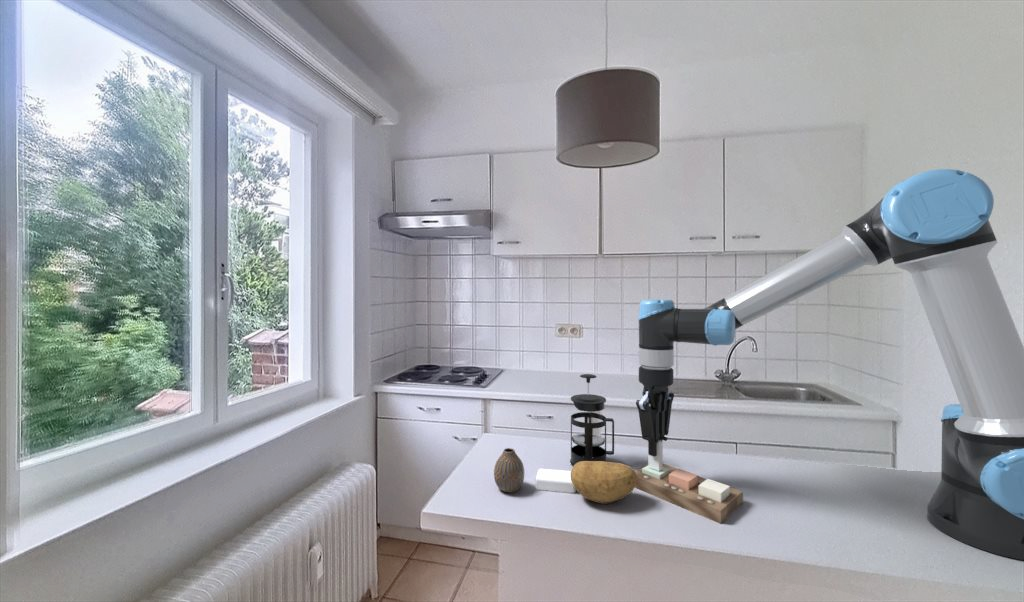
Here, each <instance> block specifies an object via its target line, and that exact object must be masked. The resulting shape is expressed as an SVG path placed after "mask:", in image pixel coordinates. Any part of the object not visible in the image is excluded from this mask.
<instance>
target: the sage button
mask: <svg viewBox="0 0 1024 602" xmlns="http://www.w3.org/2000/svg"><path fill="white" fill-rule="evenodd" d="M645 466H646V465H645ZM643 467H644V466H643ZM641 468H642V467H641ZM642 473H644V474H647V475H650V476H652V477H655V478H657V479H662V478H664V477H665V476H667V475H669V474H670V469H667V468H664V467H662V470H660V471H658V470H655V469H652V468H649V467H648V466H646V467H644V468H642Z"/></svg>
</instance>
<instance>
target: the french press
mask: <svg viewBox="0 0 1024 602" xmlns="http://www.w3.org/2000/svg"><path fill="white" fill-rule="evenodd" d="M579 377H580V378H583V379H586V380H585V381H586V383H587V393H584V394H583V393H582V394H575V395H572V396H571V397H570V400H571V402H573V403H572V404H573V405H574V406H575V408H576V409H577V410H578V411H581V412H575V413H573V414H571V415H570V459H569V464H570V463H571V464H570V465H571V466H572V467H573V466H574V465H575V464H576V463H578V462H580V461H604V462H607V455H609V456H610V455H612V456H614V454H615V420H614V418H611V417H610V418H609V417H608V418H607V417H606V416H605V415H603V414H601V413H598V412H600V411H603V410H605V403H606V402H607V399H606V397H604V396H601V395H598V394H590V383H591V379H596V378H597V375H594V374H591V373H586V374H583V373H582V374H580V376H579ZM596 412H597V413H596ZM579 418H584V421H578V420H576V419H579ZM592 418H593V419H598V420H600V421H599V422H592ZM607 422H610V423H611V443H612V445H611V450H607ZM573 426H575V427H578V428H582V429H584V432H582V433H576V434H573ZM603 427H604V437H603V436H602V435H599V434H597V433H593V430H594V429H599V428H603ZM573 444H575V445H574V446H573ZM603 445H604V447H601V446H603Z"/></svg>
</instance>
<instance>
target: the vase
mask: <svg viewBox="0 0 1024 602" xmlns="http://www.w3.org/2000/svg"><path fill="white" fill-rule="evenodd" d="M493 478H494V482H495V484H496V486H497V488H498V489H499V490H500V491H502V492H503V491H504V492H503V493H507V492H511V493H515V492H517V491H518V490H520V488H521V487H522V485H523V483H524V481H525V467H524V464H523V462H522V459H521V458H520V457H519V456H518V455H517V453H516V451H515V449H514V448H512V447H505V448H504V449H503V451H502V453H501V455H500V456H499V457H498V458H497V460H496V462H495V464H494V468H493Z"/></svg>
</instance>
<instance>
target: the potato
mask: <svg viewBox="0 0 1024 602" xmlns="http://www.w3.org/2000/svg"><path fill="white" fill-rule="evenodd" d="M570 471H571V481H572V483H573V485H574V487H575V488H576V491H577V493H578V494H580V495H581V496H582V497H583V498H585V499H586V500H588V501H592V502H595V503H598V504H606V505H607V504H611V503H615V502H617V501H619V500H621V499H624V498H625V497H626V496H628V495H630V494H631V492H633V491H634V489H635V485H636V483H637V480H638V478H637V475H636V473H635V472H634V471H635V470H634V469H633V467H632V466H630V465H626V464H625V463H624V464H623V463H621V462H610V461H606V462H604V461H580V462H578V463H576V464H575V465H574V466H572V469H571V470H570Z"/></svg>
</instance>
